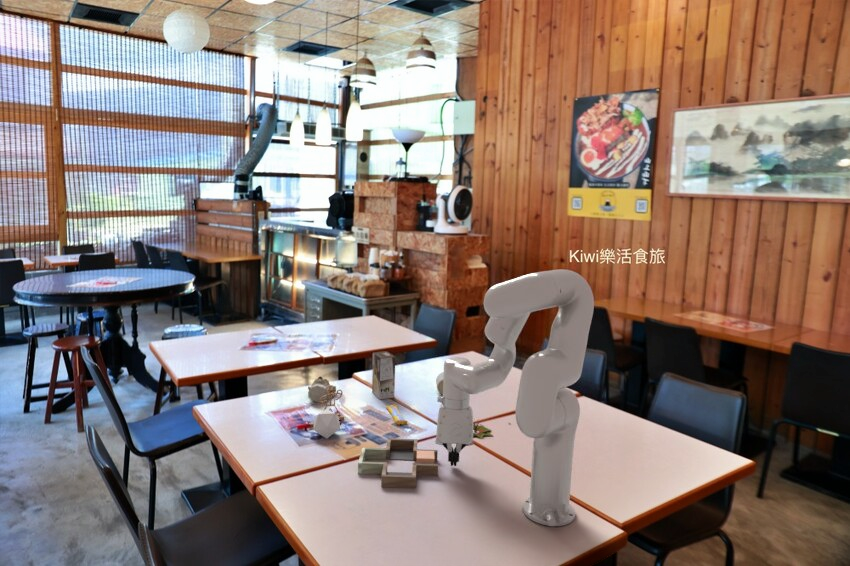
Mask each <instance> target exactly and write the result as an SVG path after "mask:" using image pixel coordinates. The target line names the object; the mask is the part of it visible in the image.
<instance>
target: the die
mask: <svg viewBox="0 0 850 566" xmlns="http://www.w3.org/2000/svg"><path fill="white" fill-rule="evenodd" d="M324 409H325V408H324ZM324 409H323V410H324ZM323 410H322V411H321V412H320V413H318V414H317V415H316V416H314V417H313V418H312V419H313V431H315V432H316V433H317V434H318V435H320V436H322V437H323V438H325V439H326V440H327V439H329V438H330V437H331V436H332V435H334V434H335V433H336V432H338V431H339V430H341V423H340V421H341V420H340V421H339V417H338V416H337V415H336V414H337V413H336V414H335V412H332V411H333V410H332V411H331V410H329V409H327V408H326V409H325V410H324V411H323Z"/></svg>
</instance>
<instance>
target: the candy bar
mask: <svg viewBox="0 0 850 566" xmlns="http://www.w3.org/2000/svg"><path fill="white" fill-rule="evenodd" d="M385 408H386V409H387V411H388V412H389V414H390V416H391V417H392V419H393V421H394V423H395V424H396V425H398V426H401V425H407V424H408V420H406V419H405V417H404V416H403V414H402V413H401V412H400V410H399V408H398V405H397V404H389V405H385ZM400 424H401V425H400Z"/></svg>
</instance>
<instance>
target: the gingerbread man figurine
mask: <svg viewBox="0 0 850 566" xmlns="http://www.w3.org/2000/svg"><path fill="white" fill-rule="evenodd" d="M330 386H332V387H334V386H335V385H332V384H330V385H329V386H327V387H326V389H325V393H326V391H330V390H331V391H333V390H335V392H334V391H333V392H332V393H329V392H327V393H328V394H327V393H326V394H327V395H325V396H322V397H321V398H320V400H321V399H322V398H323V397H326V396H328V397H327V399H329V404H328V400H327V399H326V400H325V401H324V402H322V401H320V400H319V403H318V406H320V407H323V406H324V405H325V407H324V409H323V410H322V411H324V410H325V409H327V408H328V407H329V409H328V410H330V411H332V412H333V411H334V410H332V408H331V407H334V408H335V409H336V411H335V412H333V413H335V414H336V415H337V416H338V417H339V420H340V421H345V416H344V415H343V414H342V413H340V412H339V410H338V408H337V407H336V401H338V400H340V399H341V397H343V390H342V389H337V387H336V388H335V387H334V388H335V389H328V390H327V388H328V387H330ZM339 391H340V392H339ZM337 395H339V396H338V397H336V398H334V396H337ZM332 399H333V403H332Z"/></svg>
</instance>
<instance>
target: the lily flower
mask: <svg viewBox="0 0 850 566" xmlns="http://www.w3.org/2000/svg"><path fill="white" fill-rule="evenodd" d="M479 420H480V419H479V418H478V419H477V422H476V421H473V430H474V431H473V437H478V438H480V439H481V440H482V439H483V438H484V436H492V437H493V436H494V435H493V434H492V433H491V432H489V431H491V429H490V428H488V427H485V425H482V423H481V422H483V419H482V420H480V421H479ZM477 432H478V433H477Z"/></svg>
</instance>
